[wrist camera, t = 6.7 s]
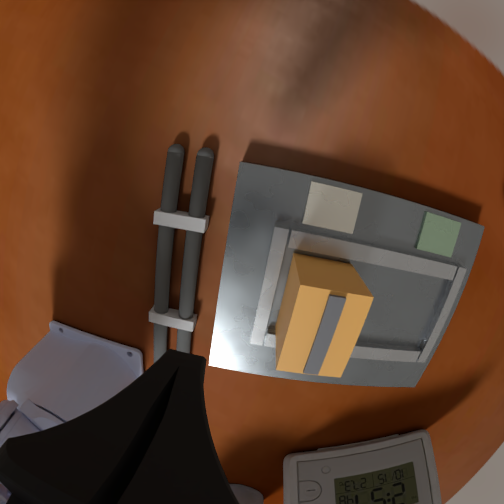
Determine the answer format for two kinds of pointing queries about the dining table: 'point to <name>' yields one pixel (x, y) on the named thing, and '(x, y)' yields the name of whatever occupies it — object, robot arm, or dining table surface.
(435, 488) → the digital clock
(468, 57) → the dining table surface
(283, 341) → the cardboard box
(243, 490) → the pillar candle
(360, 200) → the grey metal tray
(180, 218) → the cable bundle
